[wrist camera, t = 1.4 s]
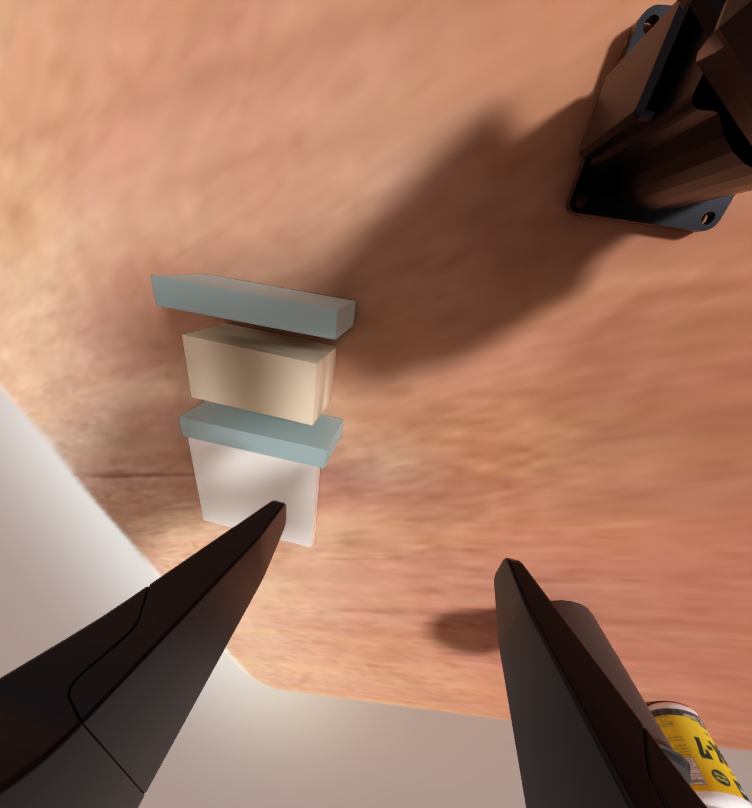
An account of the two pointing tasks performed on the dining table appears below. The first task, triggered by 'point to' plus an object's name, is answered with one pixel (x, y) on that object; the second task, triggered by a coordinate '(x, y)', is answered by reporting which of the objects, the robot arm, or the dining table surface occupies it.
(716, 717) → the dining table surface
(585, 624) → the coffee cup
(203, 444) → the ceramic tile
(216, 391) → the maple block
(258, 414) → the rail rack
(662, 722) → the supplement bottle
